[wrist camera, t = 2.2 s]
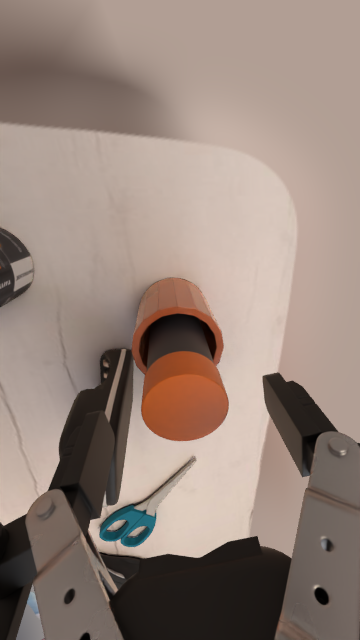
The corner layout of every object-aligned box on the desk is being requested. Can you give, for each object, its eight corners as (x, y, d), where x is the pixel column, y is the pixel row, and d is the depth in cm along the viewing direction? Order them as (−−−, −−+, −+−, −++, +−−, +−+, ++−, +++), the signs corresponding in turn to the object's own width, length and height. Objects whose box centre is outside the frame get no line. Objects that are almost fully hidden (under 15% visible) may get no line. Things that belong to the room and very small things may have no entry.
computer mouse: (124, 593, 46) (120, 626, 42) (28, 575, 41) (15, 611, 38) (158, 561, 42) (158, 594, 39) (56, 537, 37) (45, 573, 34)
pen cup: (131, 286, 22) (119, 319, 16) (199, 270, 22) (215, 297, 16) (149, 345, 25) (145, 393, 18) (211, 331, 25) (228, 375, 18)
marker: (145, 296, 22) (130, 385, 11) (191, 285, 22) (222, 365, 11) (157, 337, 24) (153, 448, 13) (200, 327, 24) (233, 431, 13)
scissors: (95, 538, 36) (174, 452, 30) (96, 530, 37) (173, 446, 31) (135, 549, 38) (217, 471, 32) (136, 541, 39) (215, 464, 33)
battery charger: (94, 344, 24) (45, 447, 14) (133, 346, 25) (114, 447, 14) (97, 400, 27) (58, 520, 17) (133, 401, 28) (116, 519, 17)
